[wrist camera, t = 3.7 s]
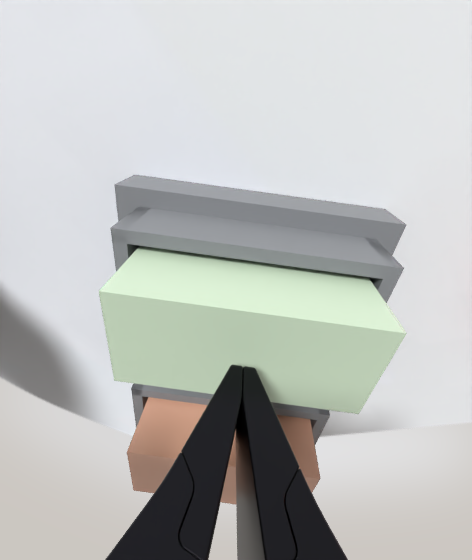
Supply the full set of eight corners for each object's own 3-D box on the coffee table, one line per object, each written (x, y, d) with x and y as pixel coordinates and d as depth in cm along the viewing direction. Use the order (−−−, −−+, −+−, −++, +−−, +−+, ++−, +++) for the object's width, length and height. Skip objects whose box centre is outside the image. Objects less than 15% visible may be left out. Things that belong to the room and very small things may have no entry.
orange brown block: (155, 425, 20) (133, 490, 16) (152, 385, 17) (126, 452, 14) (292, 444, 20) (299, 513, 16) (308, 407, 17) (320, 478, 14)
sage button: (148, 317, 14) (114, 380, 11) (143, 241, 12) (98, 291, 9) (335, 343, 14) (358, 414, 11) (364, 272, 12) (406, 333, 9)
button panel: (150, 384, 24) (124, 449, 20) (134, 174, 15) (78, 201, 10) (304, 406, 24) (315, 475, 20) (385, 209, 15) (442, 251, 10)
